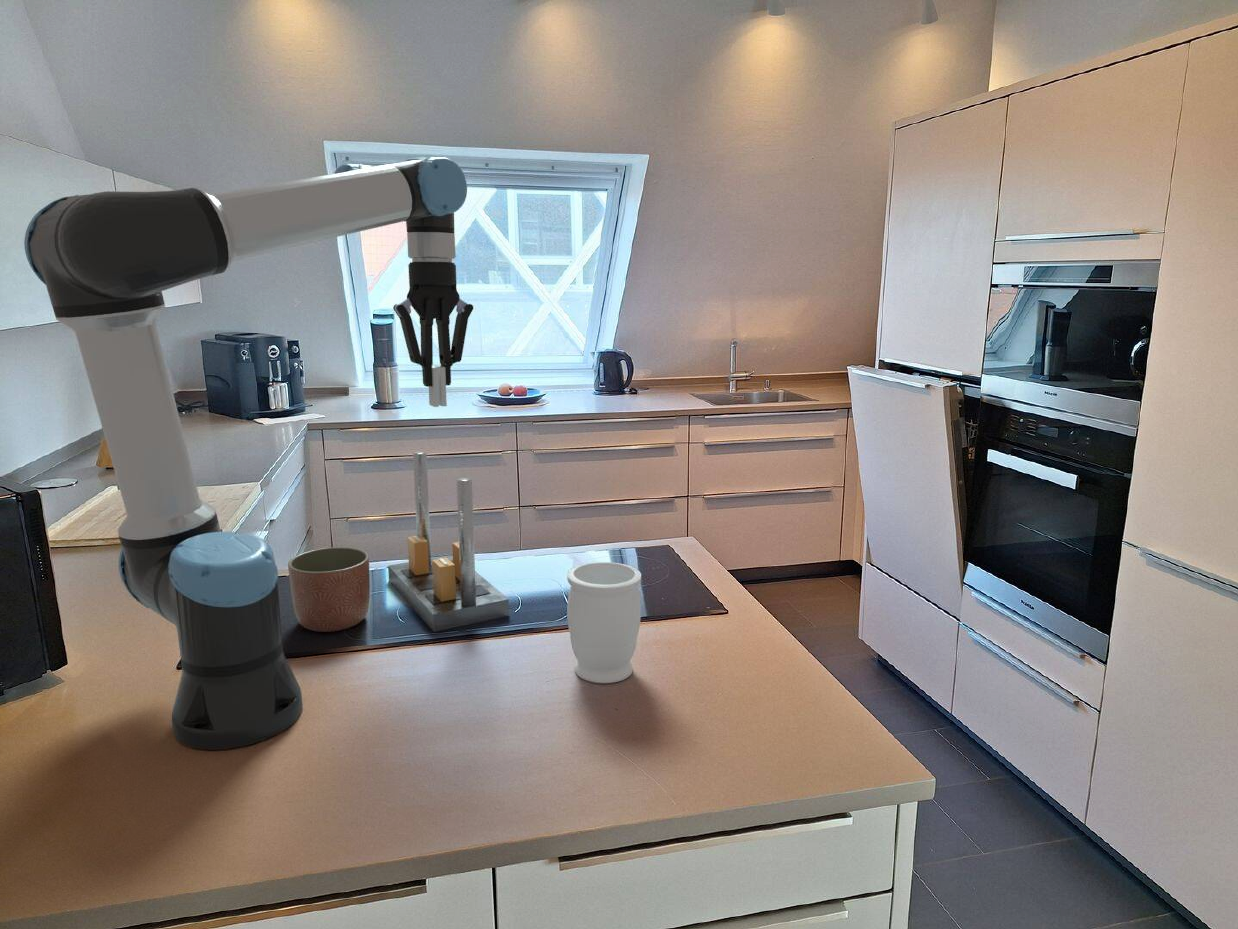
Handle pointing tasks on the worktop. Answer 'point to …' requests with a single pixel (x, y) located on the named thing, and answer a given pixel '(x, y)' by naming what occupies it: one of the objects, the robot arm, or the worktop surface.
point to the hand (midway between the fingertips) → (437, 405)
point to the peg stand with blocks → (472, 589)
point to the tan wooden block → (418, 555)
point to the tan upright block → (456, 559)
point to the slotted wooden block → (444, 579)
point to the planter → (330, 588)
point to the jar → (603, 619)
